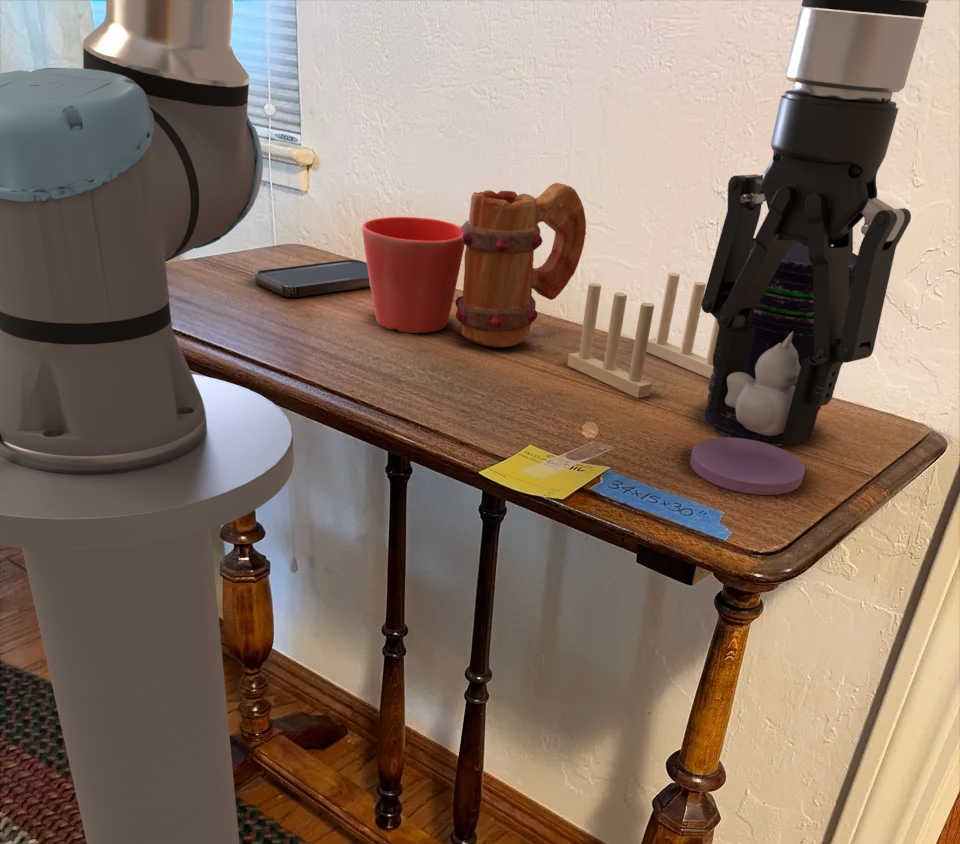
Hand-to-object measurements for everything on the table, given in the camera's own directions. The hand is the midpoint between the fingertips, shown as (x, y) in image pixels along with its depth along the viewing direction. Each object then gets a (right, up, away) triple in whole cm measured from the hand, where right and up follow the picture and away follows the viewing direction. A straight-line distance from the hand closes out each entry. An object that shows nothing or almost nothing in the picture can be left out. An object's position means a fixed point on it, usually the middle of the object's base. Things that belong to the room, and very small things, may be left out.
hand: (757, 425), depth 76 cm
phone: (-41, +25, +38) cm, 61 cm away
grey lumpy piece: (0, 0, 0) cm, 0 cm away
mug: (-18, +15, +26) cm, 36 cm away
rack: (-5, +10, +21) cm, 24 cm away
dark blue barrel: (+3, +2, +11) cm, 12 cm away
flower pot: (-29, +17, +28) cm, 44 cm away
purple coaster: (0, -3, +2) cm, 4 cm away
